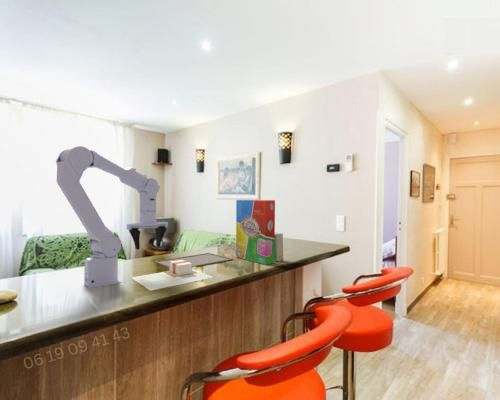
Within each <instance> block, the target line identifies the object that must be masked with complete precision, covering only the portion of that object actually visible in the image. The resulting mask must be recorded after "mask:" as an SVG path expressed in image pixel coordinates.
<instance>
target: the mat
mask: <svg viewBox="0 0 500 400" xmlns="http://www.w3.org/2000/svg"><path fill="white" fill-rule="evenodd" d="M212 278H214V277H213V276H211V275H209V274H206V273H203V272H201V271H199V270H196V269H193V268H192V273H191V274H186V275H180V276H178V275H176V274H174V273H172V272H170V270H167V271H162V272H161V271H160V272H156V273H150V274H143V275H139V276H138V275H137V276H132V277H130V279H133V281H134V282H135V281H136V282H137V283H138V284H140V285H141V286H142V287H144V288H146V289H147V290H148V291H154V290H156V291H157V290H160V289H164V288H169V287H174V286H179V285H184V284H189V283H193V282H198V281H203V280H207V279H212Z"/></svg>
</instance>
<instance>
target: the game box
mask: <svg viewBox="0 0 500 400" xmlns="http://www.w3.org/2000/svg"><path fill="white" fill-rule="evenodd" d="M235 201H236V202H235V204H236V205H235V206H236V208H235V210H236V211H235V213H236V215H235V216H236V217H235V219H236V221H235V223H236V225H235V226H236V227H235V229H236V230H235V237H236V238H235V248H236V249H235V257H236V258H239V259H242V260H245V261H249V262H253V263H257V264H260V263H261V265H264V264H265V265H264V266H267V264H268V265H272V264H271V263H273V264H275V262H276V261H275V233H276V232H275V230H276V226H275V225H276V224H275V223H276V200H275V199H266V200H264V199H263V200H261V199H236V200H235Z"/></svg>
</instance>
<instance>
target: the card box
mask: <svg viewBox="0 0 500 400" xmlns="http://www.w3.org/2000/svg"><path fill="white" fill-rule="evenodd" d="M192 269H193V267H192V263H189V262H187V261H184V260H177V261H170V267H169V271H170V272H172V273H174V274H176V275H178V276H180V275H186V274H191V273H192Z"/></svg>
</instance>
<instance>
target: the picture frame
mask: <svg viewBox="0 0 500 400" xmlns="http://www.w3.org/2000/svg"><path fill="white" fill-rule="evenodd" d="M177 260H184V261H187V262H189V263H192V268H193V267H197V268H198V267H203V266H208V265H214V264H220V263H226V262H230V261H234V258H231V257H227V256H223V255H220V254H215V253H212V252H211V253H210V252H206V253H200V254H195V255H194V254H193V255H187V256H181V257H174V258H168V259H161V260H155V261H154V263H155V264H157V265H161V266H163V267H167V268H170V261H177Z"/></svg>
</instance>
